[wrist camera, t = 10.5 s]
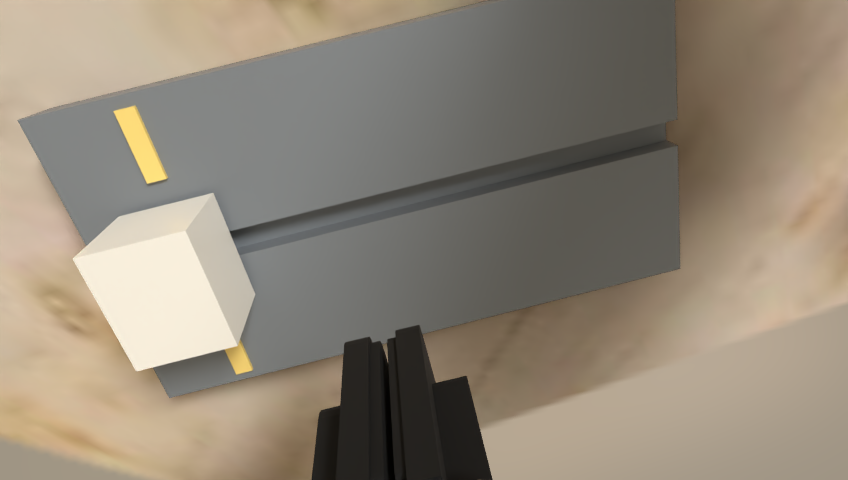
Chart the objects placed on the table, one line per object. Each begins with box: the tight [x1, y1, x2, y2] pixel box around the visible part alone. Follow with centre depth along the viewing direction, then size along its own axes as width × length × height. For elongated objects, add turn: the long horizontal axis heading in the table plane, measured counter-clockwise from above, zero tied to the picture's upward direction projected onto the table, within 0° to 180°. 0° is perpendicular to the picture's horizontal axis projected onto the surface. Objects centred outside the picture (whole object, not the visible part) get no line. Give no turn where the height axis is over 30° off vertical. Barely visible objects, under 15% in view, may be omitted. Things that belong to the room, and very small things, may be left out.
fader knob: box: [73, 193, 255, 371], centre depth 22 cm, size 4×5×5 cm
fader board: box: [18, 0, 680, 398], centre depth 25 cm, size 26×14×3 cm, turn 103°
